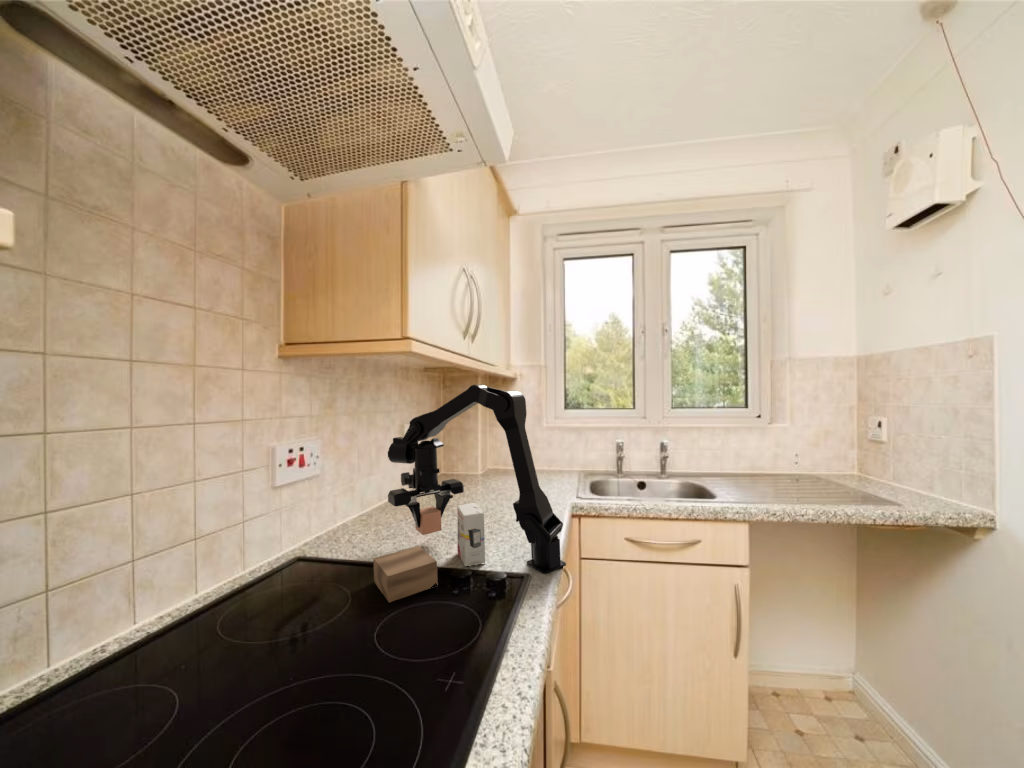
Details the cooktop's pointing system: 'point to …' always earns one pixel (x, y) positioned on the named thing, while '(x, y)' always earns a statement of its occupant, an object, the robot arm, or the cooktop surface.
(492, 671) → the cooktop surface
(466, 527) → the ink box
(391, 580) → the walnut block
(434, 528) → the terracotta cube
